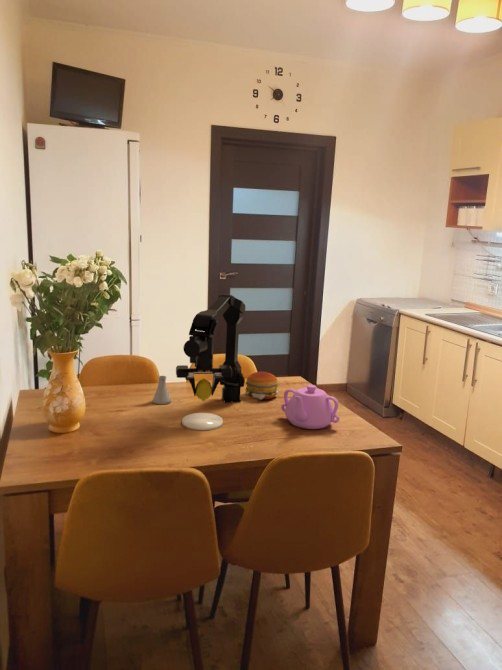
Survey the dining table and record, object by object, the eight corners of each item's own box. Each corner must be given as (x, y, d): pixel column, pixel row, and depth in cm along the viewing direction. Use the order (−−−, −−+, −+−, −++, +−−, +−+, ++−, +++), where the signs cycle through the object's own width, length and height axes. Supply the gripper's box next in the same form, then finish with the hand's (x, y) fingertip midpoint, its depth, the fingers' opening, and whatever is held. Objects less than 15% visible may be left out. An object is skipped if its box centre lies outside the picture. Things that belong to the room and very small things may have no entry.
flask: (169, 405, 198) (170, 379, 195) (150, 404, 198) (150, 378, 196) (172, 399, 205) (173, 374, 203) (154, 398, 205) (154, 373, 203)
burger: (278, 392, 219) (280, 369, 217) (277, 403, 206) (278, 378, 204) (246, 390, 220) (247, 367, 218) (243, 400, 207) (244, 376, 205)
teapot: (264, 428, 180) (266, 389, 177) (290, 410, 199) (292, 374, 196) (325, 442, 170) (328, 401, 167) (346, 422, 189) (349, 385, 186)
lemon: (208, 404, 177) (209, 381, 175) (193, 402, 178) (193, 380, 176) (213, 399, 182) (214, 377, 181) (197, 397, 183) (198, 375, 182)
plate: (219, 415, 190) (219, 412, 190) (225, 429, 176) (225, 426, 176) (180, 416, 187) (180, 413, 187) (183, 431, 174) (183, 428, 173)
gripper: (228, 345, 186) (226, 387, 189) (175, 345, 182) (174, 388, 186) (233, 353, 176) (231, 397, 179) (177, 353, 172) (176, 399, 175)
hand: (203, 395), depth 180 cm, fingers closed on lemon, 5 cm apart
